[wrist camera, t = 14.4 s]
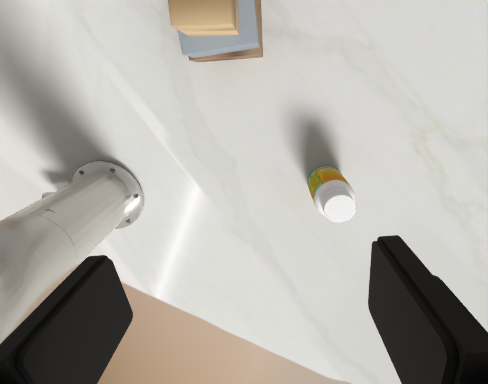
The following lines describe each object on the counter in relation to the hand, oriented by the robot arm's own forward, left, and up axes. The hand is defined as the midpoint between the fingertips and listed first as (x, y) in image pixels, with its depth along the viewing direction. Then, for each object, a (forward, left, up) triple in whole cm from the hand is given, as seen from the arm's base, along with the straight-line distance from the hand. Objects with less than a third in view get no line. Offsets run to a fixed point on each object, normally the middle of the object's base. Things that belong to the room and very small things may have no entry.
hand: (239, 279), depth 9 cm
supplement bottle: (+10, -9, -33) cm, 36 cm away
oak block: (-3, +14, -23) cm, 27 cm away
